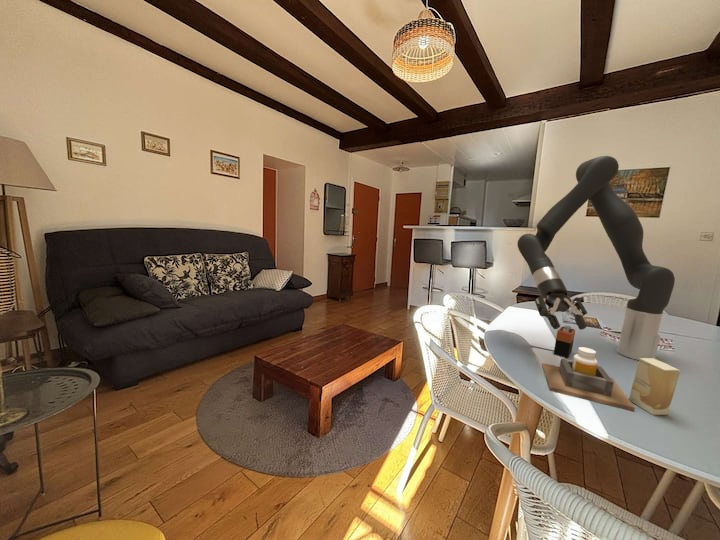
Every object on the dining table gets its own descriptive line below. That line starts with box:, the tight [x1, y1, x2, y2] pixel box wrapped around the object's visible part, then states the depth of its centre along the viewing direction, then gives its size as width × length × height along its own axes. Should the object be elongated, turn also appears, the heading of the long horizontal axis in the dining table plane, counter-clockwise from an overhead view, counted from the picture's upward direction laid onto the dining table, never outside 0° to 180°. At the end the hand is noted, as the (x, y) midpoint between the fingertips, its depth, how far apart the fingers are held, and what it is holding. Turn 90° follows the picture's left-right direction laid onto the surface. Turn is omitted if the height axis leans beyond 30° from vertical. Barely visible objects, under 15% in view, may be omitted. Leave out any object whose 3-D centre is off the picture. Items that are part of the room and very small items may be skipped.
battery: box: [553, 324, 576, 359], centre depth 103 cm, size 4×7×10 cm, turn 135°
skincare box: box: [628, 358, 681, 416], centre depth 73 cm, size 6×4×12 cm
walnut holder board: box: [541, 357, 636, 412], centre depth 83 cm, size 18×16×5 cm
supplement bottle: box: [572, 346, 599, 376], centre depth 82 cm, size 5×5×10 cm
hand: (570, 328), depth 88 cm, fingers open, 8 cm apart
